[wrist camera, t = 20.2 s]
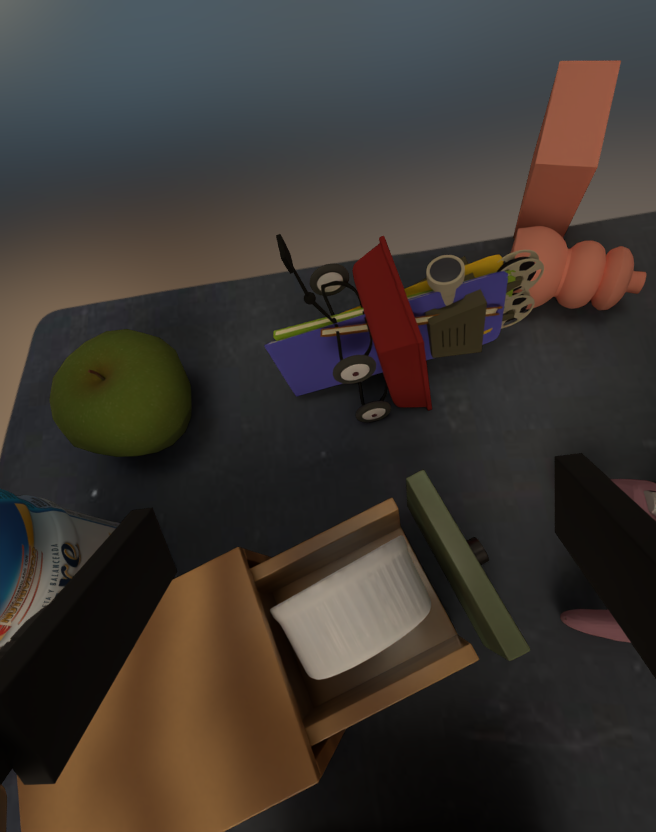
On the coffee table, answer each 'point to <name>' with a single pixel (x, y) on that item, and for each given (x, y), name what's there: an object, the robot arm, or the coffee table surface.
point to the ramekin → (355, 611)
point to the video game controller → (601, 621)
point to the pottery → (572, 194)
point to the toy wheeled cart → (400, 322)
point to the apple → (122, 395)
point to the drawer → (420, 648)
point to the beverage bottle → (40, 554)
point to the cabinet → (188, 721)
